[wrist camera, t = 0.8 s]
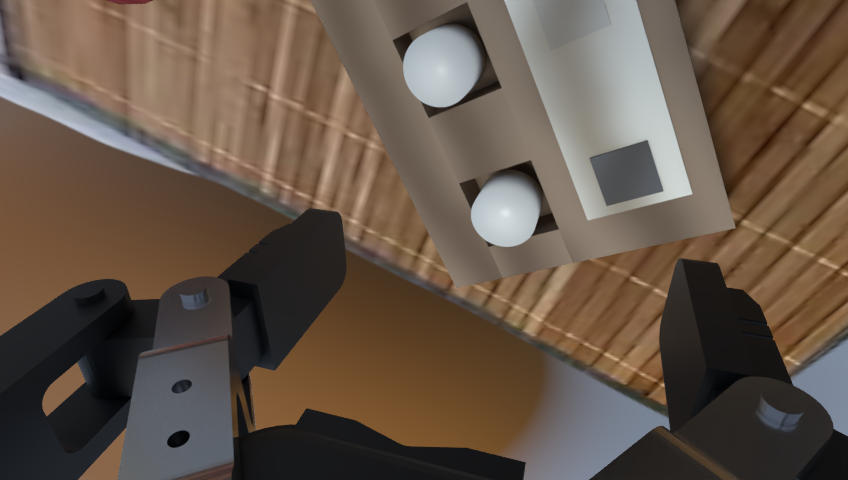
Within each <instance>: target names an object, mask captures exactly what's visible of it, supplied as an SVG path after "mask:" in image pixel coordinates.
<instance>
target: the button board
mask: <svg viewBox="0 0 848 480" xmlns="http://www.w3.org/2000/svg"><path fill="white" fill-rule="evenodd" d="M311 2H312V4H313V6H314V8H315V10H316V12H317V14H318V16H319V18H320V20H321V22H322V24H323V26H324V28H325V30H326V32H327V34H328V36H329V38H330V40H331V42H332V44H333V46H334V48H335V50H336V52H337V54H338V56H339V58H340V60H341V61H342V63H343V65H344V67H345V69H346V71H347V73H348V75H349V77H350V79H351V81H352V83H353V85H354V87H355V89H356V91H357V93H358V95H359V97H360V99H361V101H362V103H363V105H364V107H365V109H366V111H367V113H368V115H369V117H370V119H371V121H372V123H373V125H374V126H375V128H376V130H377V132H378V134H379V136H380V138H381V140H382V142H383V144H384V146H385V148H386V150H387V152H388V154H389V156H390V158H391V160H392V162H393V164H394V166H395V168H396V170H397V172H398V174H399V176H400V178H401V180H402V182H403V184H404V186H405V188H406V189H407V191H408V193H409V195H410V197H411V199H412V201H413V203H414V205H415V207H416V209H417V211H418V213H419V215H420V217H421V219H422V221H423V223H424V225H425V227H426V229H427V231H428V233H429V235H430V237H431V239H432V241H433V243H434V245H435V247H436V249H437V251H438V253H439V254H440V256H441V258H442V260H443V262H444V264H445V266H446V268H447V270H448V272H449V274H450V276H451V278H452V280H453V282H454V284H455V286H456V288H458V287H463V286H467V285H472V284H477V283H481V282H486V281H491V280H495V279H500V278H505V277H509V276H514V275H519V274H523V273H528V272H533V271H537V270H542V269H547V268H551V267H556V266H561V265H565V264H570V263H575V262H579V261H584V260H589V259H593V258H598V257H603V256H608V255H612V254H617V253H622V252H626V251H631V250H636V249H640V248H645V247H650V246H654V245H659V244H664V243H668V242H673V241H678V240H682V239H687V238H692V237H696V236H701V235H706V234H710V233H715V232H720V231H724V230H729V229H734V228H735V224H734V221H733V217H732V213H731V209H730V206H729V202H728V198H727V194H726V191H725V187H724V183H723V179H722V176H721V172H720V168H719V164H718V160H717V157H716V153H715V149H714V145H713V142H712V138H711V134H710V130H709V127H708V123H707V119H706V115H705V112H704V108H703V104H702V100H701V97H700V93H699V89H698V85H697V82H696V78H695V74H694V70H693V67H692V63H691V59H690V55H689V51H688V48H687V44H686V40H685V36H684V33H683V29H682V25H681V21H680V18H679V14H678V10H677V6H676V3H675V0H311ZM447 23H456V24H460V25H463V26H465V27H467V28H469V29H470V30H471V31H473V32H474V33H475V34H476V36H477V37H478V38H479V40H480V41H481V43H482V45H483V48H484V52H485V68H484V72H483V74H482V77H481V78H480V80H479V81H478V83H477V84H476V85H475V86H474V87H473V88H472V89H471V90H470V91H469V92H468V93H467V94H466V95H465V96H464V97H463V98H462V99H461V100H460V101H459V102H457V103H455V104H453V105H451V106H447V107H433V106H430V105H427V104H425V103H423V102H422V101H420V100H419V99H418V98H416V97H415V96H414V95H413V93H412V92H411V91H410V89H409V87H408V86H407V83H406V81H405V77H404V72H403V62H404V57H405V54H406V51H407V49H408V48H409V46H410V45H411V43H412V42H413V41H414V40H415V39H417V38H418V37H420V36H421V35H423V34H425V33H427V32H428V31H430V30H432V29H434V28H436V27H437V26H440V25H442V24H447ZM504 170H517V171H521V172H523V173H525V174H527V175H529V176H530V177H532V178H533V179H534V180H535V181H536V182H537V183H538V185H539V187H540V189H541V191H542V194H543V205H542V209H541V212H540V215H539V218H538V221H537V224H536V227H535V230H534V232H533V234H532V235H531V237H530V238H529V239H528V240H526V241H525V242H523V243H522V244H519V245H516V246H512V247H502V246H497V245H494V244H492V243H490V242H488V241H486V240H485V239H483V238H482V237H481V236H480V235H479V234H478V233H477V231H476V230H475V228H474V226H473V224H472V220H471V210H472V206H473V204H474V202H475V200H476V198H477V197H478V195H479V193H480V191H481V189H482V188H483V186H484V184H485V182H486V181H487V180H488V179H489V178H490V177H491V176H492V175H494V174H495V173H497V172H500V171H504Z"/></svg>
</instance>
